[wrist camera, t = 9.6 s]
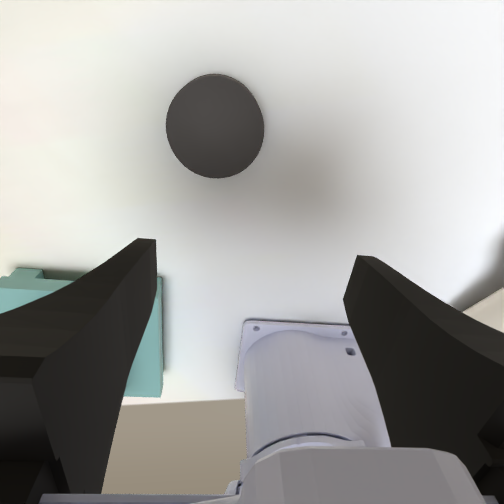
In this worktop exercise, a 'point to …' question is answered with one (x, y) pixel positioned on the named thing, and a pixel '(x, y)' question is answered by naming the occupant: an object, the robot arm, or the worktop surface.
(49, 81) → the worktop surface
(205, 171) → the dark gray disc
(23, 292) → the stand
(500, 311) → the spotlight
